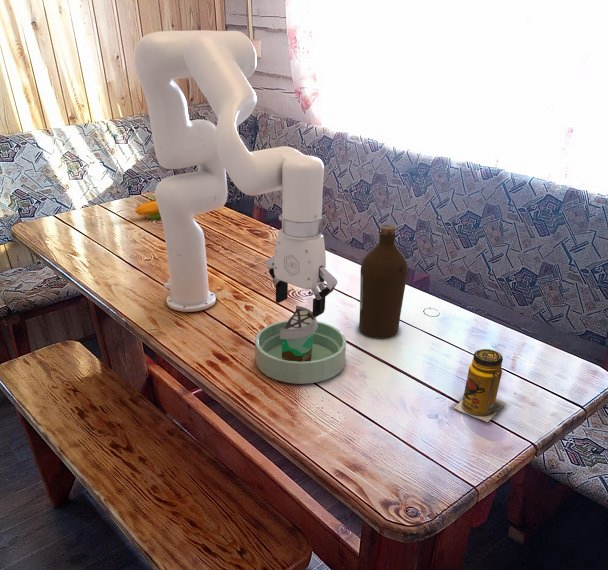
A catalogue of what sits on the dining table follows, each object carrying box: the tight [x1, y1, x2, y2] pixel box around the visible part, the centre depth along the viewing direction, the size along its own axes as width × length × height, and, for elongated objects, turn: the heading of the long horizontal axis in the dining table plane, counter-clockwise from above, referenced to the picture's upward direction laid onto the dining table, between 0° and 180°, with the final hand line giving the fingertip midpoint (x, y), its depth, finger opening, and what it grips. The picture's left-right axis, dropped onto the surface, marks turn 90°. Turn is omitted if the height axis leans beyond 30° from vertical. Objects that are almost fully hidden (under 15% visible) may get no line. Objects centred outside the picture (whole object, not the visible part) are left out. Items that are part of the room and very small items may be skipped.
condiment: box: [453, 348, 507, 423], centre depth 113 cm, size 7×8×12 cm
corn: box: [134, 195, 161, 220], centre depth 211 cm, size 7×8×20 cm
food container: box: [280, 305, 318, 362], centre depth 126 cm, size 12×6×10 cm, turn 165°
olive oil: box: [358, 224, 409, 339], centre depth 136 cm, size 11×11×25 cm
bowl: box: [254, 319, 347, 385], centre depth 128 cm, size 19×19×6 cm
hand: (299, 307), depth 122 cm, fingers open, 9 cm apart
